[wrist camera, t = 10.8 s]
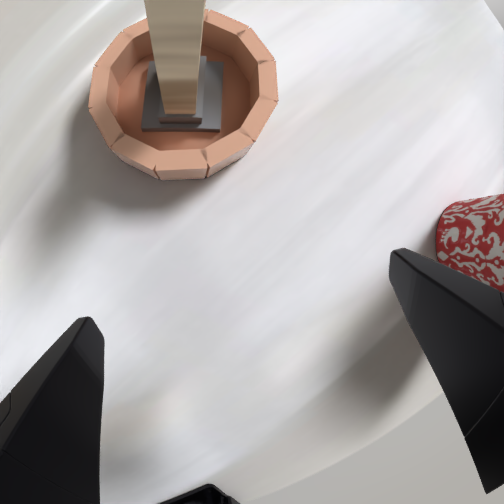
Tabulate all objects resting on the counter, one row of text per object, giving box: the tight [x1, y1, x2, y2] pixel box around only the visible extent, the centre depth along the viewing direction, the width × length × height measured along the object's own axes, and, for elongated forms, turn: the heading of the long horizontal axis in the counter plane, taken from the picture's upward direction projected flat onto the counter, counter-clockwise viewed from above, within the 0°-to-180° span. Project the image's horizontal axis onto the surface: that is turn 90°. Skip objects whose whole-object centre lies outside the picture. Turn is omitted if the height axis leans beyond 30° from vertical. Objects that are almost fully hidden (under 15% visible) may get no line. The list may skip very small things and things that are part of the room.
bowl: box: [88, 9, 278, 180], centre depth 18 cm, size 11×11×4 cm
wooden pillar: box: [141, 0, 224, 133], centre depth 13 cm, size 5×5×13 cm
